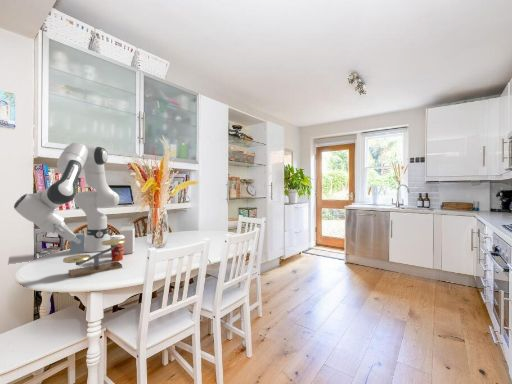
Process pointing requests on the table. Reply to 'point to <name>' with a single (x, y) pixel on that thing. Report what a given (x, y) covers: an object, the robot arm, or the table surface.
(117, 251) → the paper cup
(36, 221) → the robot arm
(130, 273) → the table surface
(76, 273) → the balance
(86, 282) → the table surface
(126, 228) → the milk carton
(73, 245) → the block
